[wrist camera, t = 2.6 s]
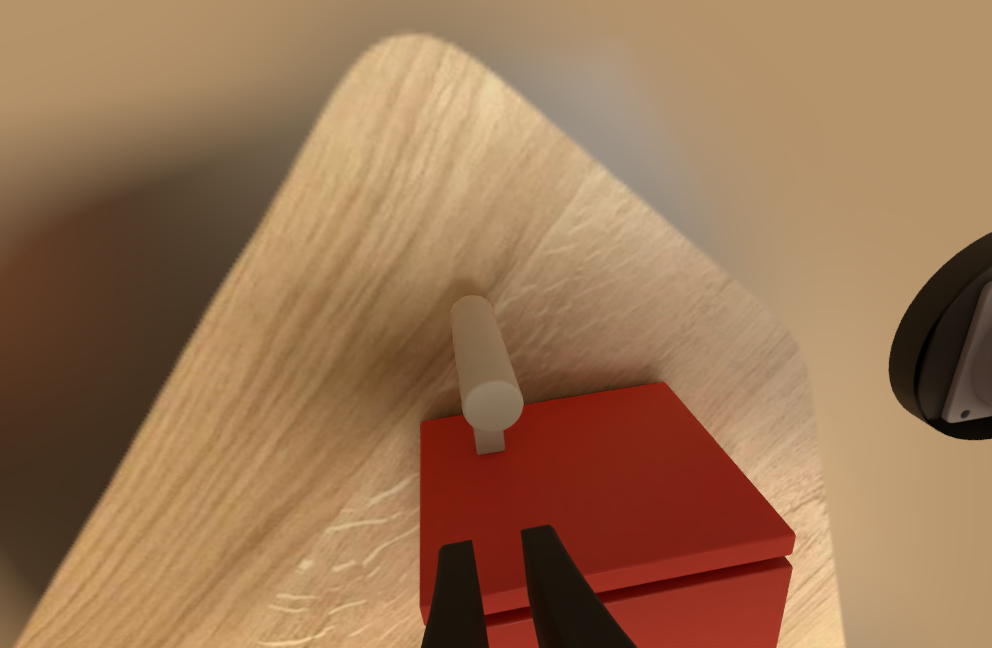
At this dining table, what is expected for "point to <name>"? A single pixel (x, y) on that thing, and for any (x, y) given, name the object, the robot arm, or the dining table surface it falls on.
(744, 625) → the cabinet
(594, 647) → the robot arm
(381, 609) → the dining table surface
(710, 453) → the red cabinet door
